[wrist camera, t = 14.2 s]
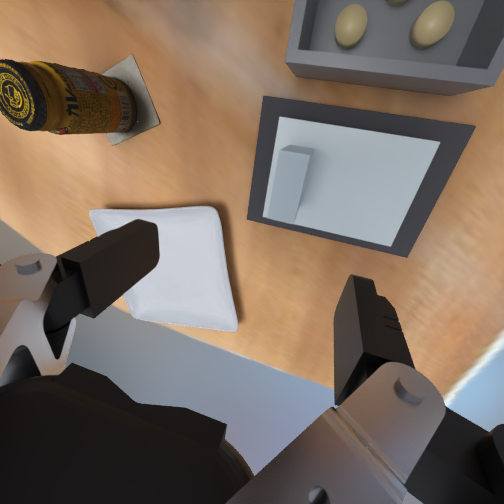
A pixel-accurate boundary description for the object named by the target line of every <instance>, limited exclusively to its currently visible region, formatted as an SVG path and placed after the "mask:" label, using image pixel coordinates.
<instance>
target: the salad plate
mask: <svg viewBox="0 0 504 504" xmlns="http://www.w3.org/2000/svg"><path fill="white" fill-rule="evenodd" d="M89 216H90V218H91V221H92V223H93V225H94V228H95V230H96V233H97V235H98V237H99V235H101V234H103V233H105V232H108V231H110V230H113V229H117V228H119V227H121V226H123V225H125V224H127V223H129V222H131V221H133V220H135V219H141V220H145V221H149V222H153V223H155V224H156V225H157V227H158V234H159V250H160V258H159V262H158V264H157V266H156V267H155V268H154V269H153V270H152V271H151V272H150V273H148V274H147V275H146V276H145V277H144V278H142V279H141V280H140V281H139V282H138V283H136V284H135V285H134V286H133V287H131V288H130V289H129V290H128V291H127V292H125V293H124V294H123V296H124V299H125V301H126V303H127V306H128V308H129V310H130V313H131V314H132V316H133V317H134V318H136V319H140V320H145V321H152V322H159V323H167V324H175V325H183V326H190V327H198V328H206V329H213V330H220V331H228V332H235V331H237V330H238V318H237V314H236V309H235V305H234V301H233V296H232V291H231V286H230V281H229V275H228V270H227V263H226V257H225V249H224V240H223V232H222V225H221V220H220V216H219V213H218V211H217V210H216V209H215V208H214V207H212V206H190V207H178V208H166V209H145V210H130V209H92V210H90V211H89Z"/></svg>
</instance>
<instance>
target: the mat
mask: <svg viewBox="0 0 504 504" xmlns="http://www.w3.org/2000/svg"><path fill="white" fill-rule="evenodd" d="M279 117H286V118H292V119H298V120H305V121H311V122H317V123H324V124H330V125H336V126H343V127H349V128H355V129H362V130H368V131H374V132H381V133H387V134H393V135H399V136H406V137H412V138H418V139H425V140H431V141H437V142H440V144H439V147H438V149H437V151H436V153H435V155H434V157H433V159H432V161H431V163H430V165H429V168H428V170H427V172H426V174H425V176H424V178H423V180H422V182H421V184H420V186H419V189H418V191H417V193H416V195H415V197H414V199H413V201H412V203H411V205H410V207H409V210H408V212H407V214H406V216H405V218H404V220H403V222H402V224H401V226H400V228H399V231H398V233H397V235H396V237H395V239H394V241H393V243H392V245H391V247H390V246H386V245H381V244H377V243H373V242H368V241H364V240H360V239H356V238H351V237H347V236H343V235H339V234H334V233H330V232H326V231H322V230H317V229H313V228H309V227H305V226H300V225H296V224H289V223H285V222H281V221H277V220H272V219H268V218H266V217H263V212H264V206H265V200H266V194H267V188H268V182H269V176H270V170H271V164H272V158H273V152H274V146H275V140H276V135H277V129H278V123H279ZM475 128H476V126H472V125H465V124H458V123H451V122H444V121H437V120H430V119H423V118H416V117H409V116H402V115H395V114H388V113H381V112H374V111H367V110H360V109H353V108H346V107H339V106H332V105H325V104H318V103H311V102H304V101H297V100H290V99H283V98H276V97H269V96H263V102H262V110H261V117H260V125H259V132H258V140H257V147H256V155H255V162H254V170H253V177H252V185H251V192H250V200H249V207H248V215H247V220H251V221H255V222H260V223H264V224H268V225H272V226H276V227H281V228H285V229H289V230H293V231H297V232H302V233H306V234H310V235H314V236H318V237H323V238H327V239H331V240H335V241H339V242H343V243H348V244H352V245H356V246H360V247H364V248H369V249H373V250H377V251H381V252H385V253H390V254H394V255H398V256H402V257H406V258H407V257H408V255H409V253H410V251H411V249H412V247H413V246H414V244H415V242H416V240H417V238H418V236H419V234H420V232H421V230H422V228H423V227H424V225H425V223H426V221H427V219H428V217H429V215H430V213H431V211H432V209H433V207H434V206H435V204H436V202H437V200H438V198H439V196H440V194H441V192H442V190H443V188H444V187H445V185H446V183H447V181H448V179H449V177H450V175H451V173H452V171H453V169H454V168H455V166H456V164H457V162H458V160H459V158H460V156H461V154H462V152H463V150H464V148H465V147H466V145H467V143H468V141H469V139H470V137H471V135H472V133H473V131H474V129H475Z"/></svg>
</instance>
